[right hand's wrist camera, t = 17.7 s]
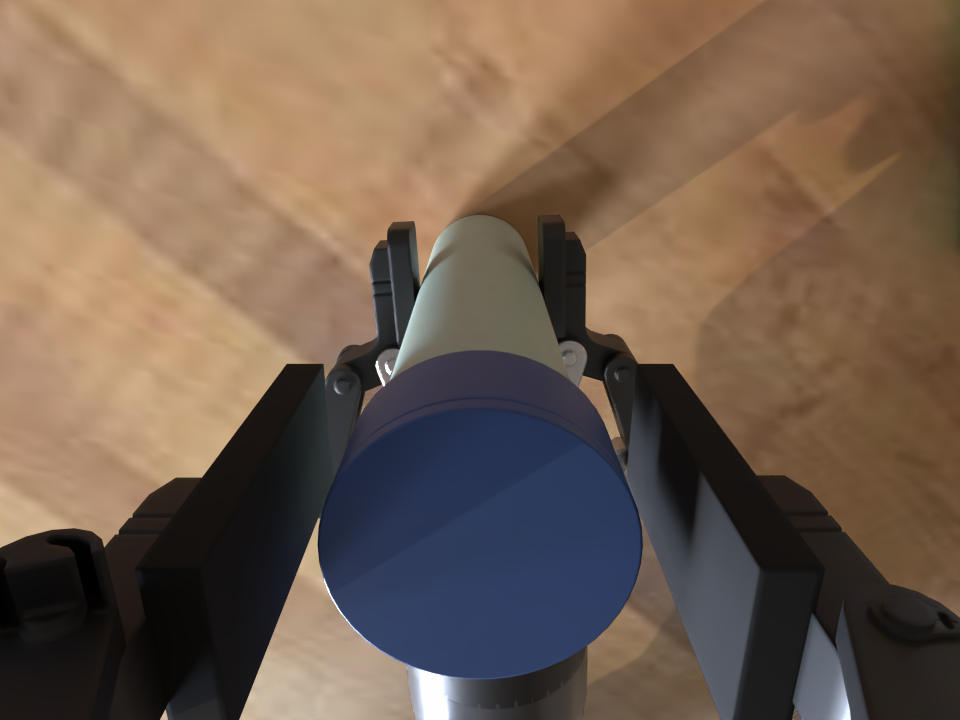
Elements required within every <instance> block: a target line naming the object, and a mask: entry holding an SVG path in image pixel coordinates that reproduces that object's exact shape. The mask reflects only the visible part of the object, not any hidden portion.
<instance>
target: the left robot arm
mask: <svg viewBox="0 0 960 720" xmlns="http://www.w3.org/2000/svg"><path fill="white" fill-rule="evenodd" d="M370 274H371V281H372V293H373V302H374V311H375V320H376V329H377V337H376V338H375V339H374V340H372V341H370V342H368V343H365V344H363V345H361V346H359V345H350V346H347V347H345V348H344V349H343V350H342V351H341V353H340V355H339V357H338V359H337V363H336V365H335V366H334V368H333V369H332V370H331V371H330V372H329V374H328V376H327V378H326V381H325V387H326V398H327V409H328V421H329V432H330V443H331V454H332V466H333V477H334V479H335V476H336V474H337V471H338V469H339V466H340V463H341V461H342V458H343V456H344V453H345V451H346V448H347V445H348V443H349V440H350V438H351V435H352V433H353V430H354V428H355V425H356V422H357V420H358V419H359V417H360V414H361V410H362V405H363V400H364V396H365V391H367V390H370V389H372V388H375V387H377V386H380V385H382V384H383V386H384V385H386V384H387V383H388V382H389V381H390V379H391V376H392V373H393V370H394V367H395V364H396V360H397V357H398V354H399V351H400V348H401V345H402V342H403V339H404V336H405V333H406V330H407V327H408V324H409V321H410V318H411V315H412V312H413V308H414V305H415V302H416V299H417V296H418V293H419V290H420V277H419V265H418V252H417V240H416V229H415V223H414V221H408V222H393V223H392V224H391V226H390V227H389V228H388V233H387V240H382V241H380V242H379V243H378V244H377V246H376V247H375V248H374V251H373V254H372V258H371V261H370ZM538 275H539V287H540V290H541V293H542V296H543V299H544V302H545V305H546V308H547V311H548V314H549V317H550V320H551V323H552V327H553V330H554V333H555V336H556V339H557V342H558V345H559V348H560V351H561V354H562V357H563V360H564V363H565V366H566V369H567V372H568V375H569V378H570V381H571V382H573V383H574V384H575V385H576V386H577V387H579V384H580V381H581V378H582V375H583V376H587V377H590V378H594V379H597V380H600V381H603V384H604V387H605V390H606V393H607V396H608V399H609V402H610V405H611V408H612V412H613V415H614V418H615V421H616V424H617V427H618V430H619V433H620V436H621V437H615V438H613V439H612V441H611V442H612V444H613V447H614V450H615V452H616V455H617V457H618V460H619V462H620V465H621V467H622V470H623V473H624V475H625V478H626V477H627V466H628V454H629V443H630V432H631V421H632V409H633V398H634V387H635V376H636V364H638V363H637V361H636V359H635V358H634V356H633V355H632V353H631V351H630V350H629V348H628V346H627V345H626V343H625V342H624V340H623V339H622V338H621V337H620V336H618V335H615V334H607V335H603V334H599V333H596V332H593V331H591V330H589V329H587V328H586V327H585V307H586V286H585V285H586V254H585V251H584V249H583V246H582V244H581V241H580V239H579V238H578V237H577V235H576V234H575V233H574V232H565V224H564V221H563V219H562V218H561V217H560V215H543V216H538ZM334 479H333V481H334ZM626 480H627V479H626ZM333 481H332V484H333ZM627 483H628V481H627ZM332 484H331V487H332ZM628 485H629V484H628ZM331 487H330V489H331ZM629 488H630V487H629ZM330 489H329V492H330ZM630 490H631V489H630ZM329 492H328V494H329ZM631 493H632V492H631ZM328 494H327V497H328ZM632 496H633V494H632ZM327 497H326V499H327ZM326 499H325V502H326ZM325 502H324V504H323V507H324V505H325ZM323 507H322V510H323ZM322 510H321V512H320V515H319V517H318V518H321V515H322ZM587 646H588V645H587ZM587 646H586V647H584V648H583V649H581V650H580V651H578V652H577V653H575V654H573V655H571V656H570V657H568V658H566V659H564V660H562V661H560V662H558V663H555V664H553V665H551V666H549V667H546V668H543V669H540V670H537V671H534V672H530V673H527V674H522V675H517V676H512V677H505V678H495V679H465V678H456V677H448V676H443V675H439V674H434V673H430V672H427V671H424V670H420V669H417V668H414V667H412V666H409V665H407V664H406V667H407V675H408V684H409V692H410V698H411V703H412V708H413V712H414V715H415V719H416V720H582V716H583V711H584V705H585V699H586V691H587Z"/></svg>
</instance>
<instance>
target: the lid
mask: <svg viewBox="0 0 960 720" xmlns="http://www.w3.org/2000/svg"><path fill="white" fill-rule="evenodd" d="M642 548H643V542H642V526H641V522H640V517H639V512H638V509H637V506H636V503H635V501H634V498H633V496H632V493H631V490H630V488H629V485H628V483H627V480H626V478H625V475H624V473H623V470H622V467H621V465H620V462H619V460H618V457H617V455H616V452H615V450H614V447H613V444H612V442H611V439H610V437H609V434H608V432H607V429H606V427H605V424H604V422H603V420H602V418H601V416H600V415H599V413H598V411H597V409H596V408H595V406H594V405H593V404H592V403H591V401H590V400H589V399H588V397H587V396H586V395H585V394H584V393H583V392H582V391H581V390H580V389H579V388H578V387H577V386H576V385H575V384H574V383H573V382H571V381H570V380H569V379H567V378H566V377H565V376H563V375H562V374H561V373H559V372H557V371H555V370H554V369H552V368H550V367H548V366H546V365H545V364H542V363H540V362H537V361H535V360H532V359H530V358H527V357H524V356H520V355H516V354H512V353H508V352H500V351H492V350H469V351H460V352H452V353H448V354H444V355H440V356H436V357H433V358H431V359H428V360H425V361H423V362H420V363H418V364H416V365H414V366H412V367H410V368H408V369H407V370H405V371H403V372H401V373H400V374H399V375H397V376H396V377H394V378H393V379H392V380H390V381H389V382H388V383H387V384H386V385H384V386H383V387H382V388H381V389H380V390H379V391H378V392H377V393H376V394H375V395H374V397H373V398H372V399H371V400H370V402H369V403H368V404H367V406H366V407H365V408H364V410H363V412H362V413H361V415H360V417H359V419H358V420H357V422H356V425H355V428H354V430H353V433H352V435H351V438H350V440H349V443H348V445H347V448H346V451H345V453H344V456H343V458H342V461H341V463H340V466H339V469H338V471H337V474H336V476H335V479H334V481H333V484H332V487H331V489H330V492H329V494H328V497H327V499H326V502H325V505H324V507H323V510H322V515H321V519H320V524H319V531H318V553H319V563H320V567H321V571H322V575H323V578H324V582H325V584H326V586H327V589H328V591H329V593H330V596H331V598H332V599H333V601H334V603H335V604H336V606H337V608H338V609H339V611H340V613H341V614H342V615H343V616H344V618H345V619H346V620H347V621H348V623H349V624H350V625H351V626H352V627H353V628H354V629H355V630H356V631H357V632H358V633H359V634H360V635H361V636H362V637H363V638H364V639H365V640H367V641H368V642H369V643H371V644H372V645H373V646H375V647H376V648H377V649H379V650H380V651H382V652H384V653H385V654H387V655H389V656H391V657H392V658H394V659H396V660H398V661H400V662H403V663H405V664H407V665H409V666H412V667H414V668H417V669H420V670H424V671H427V672H430V673H434V674H439V675H443V676H448V677H456V678H465V679H495V678H505V677H512V676H517V675H522V674H527V673H530V672H534V671H537V670H540V669H543V668H546V667H549V666H551V665H553V664H555V663H558V662H560V661H562V660H564V659H566V658H568V657H570V656H571V655H573V654H575V653H577V652H578V651H580V650H581V649H583V648H584V647H586V646H587V645H588V644H590V643H591V642H592V641H594V640H595V639H596V638H597V637H598V636H599V635H600V634H601V633H602V632H603V631H605V630H606V629H607V628H608V627H609V625H610V624H611V623H612V622H613V621H614V619H615V618H616V617H617V616H618V614H619V613H620V612H621V610H622V608H623V607H624V605H625V603H626V602H627V600H628V599H629V597H630V594H631V592H632V590H633V587H634V585H635V583H636V580H637V576H638V572H639V568H640V565H641V557H642Z"/></svg>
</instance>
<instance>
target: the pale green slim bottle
mask: <svg viewBox="0 0 960 720" xmlns="http://www.w3.org/2000/svg"><path fill="white" fill-rule="evenodd" d="M469 350H492V351H500V352H508V353H512V354H516V355H520V356H524V357H527V358H530V359H532V360H535V361H537V362H540V363H542V364H545V365H546V366H548V367H550V368H552V369H554V370H555V371H557V372H559V373H561V374H562V375H563V376H565V377H566V378H567V379H569V380H570V378H569V375H568V372H567V369H566V366H565V363H564V360H563V357H562V354H561V351H560V348H559V345H558V342H557V339H556V336H555V333H554V330H553V327H552V323H551V320H550V317H549V314H548V311H547V308H546V305H545V302H544V299H543V296H542V293H541V290H540V287H539V284H538V281H537V278H536V275H535V272H534V269H533V266H532V263H531V260H530V257H529V254H528V251H527V248H526V245H525V243H524V241H523V239H522V237H521V236H520V235H519V233H518V232H517V231H516V230H515V229H514V228H513V227H512V226H511V225H509V224H508V223H507V222H505V221H503V220H501V219H499V218H496V217H493V216H488V215H472V216H467V217H464V218H461V219H459V220H457V221H455V222H453V223H452V224H451V225H449V226H448V227H447V228H446V229H445V230H444V231H443V232H442V233H441V234H440V236H439V237H438V239H437V241H436V243H435V245H434V248H433V250H432V253H431V256H430V260H429V263H428V266H427V269H426V272H425V275H424V278H423V281H422V284H421V287H420V290H419V293H418V296H417V299H416V302H415V305H414V308H413V312H412V315H411V318H410V321H409V324H408V327H407V330H406V333H405V336H404V339H403V342H402V345H401V348H400V351H399V354H398V357H397V360H396V364H395V367H394V370H393V373H392V376H391V379H390V380H392V379H393V378H394V377H396V376H397V375H399V374H400V373H401V372H403V371H405V370H407V369H408V368H410V367H412V366H414V365H416V364H418V363H420V362H423V361H425V360H428V359H431V358H433V357H436V356H440V355H444V354H448V353H452V352H460V351H469Z"/></svg>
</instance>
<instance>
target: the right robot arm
mask: <svg viewBox="0 0 960 720" xmlns="http://www.w3.org/2000/svg"><path fill="white" fill-rule="evenodd" d="M333 479H334V477H333V466H332V454H331V443H330V432H329V421H328V409H327V398H326V387H325V376H324V365H323V364H287V365H286V366H285V367H284V369H283V370H282V371H281V373H280V374H279V375H278V377H277V378H276V379H275V381H274V382H273V383H272V385H271V386H270V387H269V389H268V390H267V391H266V393H265V394H264V395H263V397H262V398H261V399H260V401H259V402H258V403H257V405H256V406H255V407H254V409H253V410H252V411H251V413H250V414H249V415H248V417H247V418H246V419H245V421H244V422H243V424H242V425H241V426H240V428H239V429H238V430H237V432H236V433H235V434H234V436H233V437H232V438H231V440H230V441H229V442H228V444H227V445H226V446H225V448H224V449H223V450H222V452H221V453H220V454H219V456H218V457H217V458H216V460H215V461H214V462H213V464H212V465H211V466H210V468H209V469H208V470H207V472H206V473H205V474H204V476H203V477H202V478H175V479H173V480H172V481H170V482H168V483H167V484H165V485H164V486H162V487H160V488H159V489H157V490H156V491H154V492H153V493H151V494H149V496H148V497H147V498H146V499H145V500H144V501H143V503H142V504H141V505H140V506H139V507H138V509H137V510H136V511H135V512H134V513H133V518H129V519H128V520H127V521H126V523H125V524H124V525H123V526H122V527H121V529H120V530H119V534H118V535H115V536H114V537H113V538H112V539H111V540H110V541H109V543H108V544H107V545H106V546H105V547H104V545H103V541H102V539H101V538H100V537H98V536H97V535H96V534H94V533H93V532H92V531H86V530H81V529H75V528H72V529H59V530H50V531H46V532H42V533H38V534H34V535H30V536H26V537H24V538H22V539H20V540H17V541H15V542H13V543H10V544H8V545H6V546H3V547H1V548H0V720H160V718H161V717H162V715H163V713H164V711H165V709H166V712H167V717H168V720H239V719H240V716H241V714H242V711H243V708H244V706H245V703H246V701H247V698H248V696H249V693H250V691H251V688H252V686H253V683H254V680H255V678H256V675H257V673H258V670H259V668H260V665H261V663H262V660H263V657H264V655H265V652H266V650H267V647H268V645H269V642H270V640H271V637H272V635H273V632H274V629H275V627H276V624H277V622H278V619H279V617H280V614H281V612H282V609H283V606H284V604H285V601H286V599H287V596H288V594H289V591H290V589H291V586H292V583H293V581H294V578H295V576H296V573H297V571H298V568H299V566H300V563H301V561H302V558H303V555H304V553H305V550H306V548H307V545H308V543H309V540H310V538H311V535H312V532H313V530H314V527H315V525H316V522H317V520H318V517H319V515H320V512H321V510H322V507H323V504H324V502H325V499H326V497H327V494H328V492H329V489H330V487H331V484H332V481H333ZM626 479H627V481H628V484H629V487H630V489H631V492H632V494H633V497H634V499H635V502H636V504H637V507H638V510H639V512H640V515H641V517H642V520H643V522H644V525H645V527H646V530H647V532H648V535H649V538H650V540H651V543H652V545H653V548H654V550H655V553H656V555H657V558H658V561H659V563H660V566H661V568H662V571H663V573H664V576H665V578H666V581H667V584H668V586H669V589H670V591H671V594H672V596H673V599H674V601H675V604H676V606H677V609H678V612H679V614H680V617H681V619H682V622H683V624H684V627H685V629H686V632H687V635H688V637H689V640H690V642H691V645H692V647H693V650H694V652H695V655H696V657H697V660H698V663H699V665H700V668H701V670H702V673H703V675H704V678H705V680H706V683H707V686H708V688H709V691H710V693H711V696H712V698H713V701H714V703H715V706H716V709H717V711H718V714H719V716H720V719H721V720H792V717H793V712H794V708H795V707H796V709H797V711H798V713H799V715H800V717H801V719H802V720H960V618H959V617H958V616H957V615H955V614H954V613H953V612H952V611H950V610H949V609H948V608H946V607H945V606H944V605H942V604H941V603H939V602H937V601H935V600H933V599H931V598H929V597H927V596H925V595H923V594H921V593H919V592H917V591H913V590H910V589H906V588H903V587H899V586H896V585H890V584H889V583H888V582H887V581H886V579H885V578H884V577H883V576H882V575H881V573H880V572H879V571H878V570H877V569H876V568H875V566H874V565H873V564H872V563H871V562H870V561H869V559H868V558H867V557H866V556H865V555H864V554H863V552H862V551H861V550H860V549H859V548H858V547H857V545H856V544H855V543H854V542H853V541H852V540H851V538H850V537H849V536H848V535H847V534H846V533H845V532H842V528H841V527H840V526H839V524H838V523H837V522H836V521H835V520H834V519H833V517H832V516H828V512H827V510H826V509H825V508H824V507H823V506H822V504H821V503H820V502H819V501H818V500H817V499H816V497H815V496H814V495H813V494H812V493H811V492H810V491H808V490H807V489H805V488H803V487H802V486H800V485H799V484H797V483H795V482H794V481H792V480H791V479H789V478H787V477H786V476H756V474H755V473H754V472H753V470H752V469H751V468H750V466H749V465H748V464H747V462H746V461H745V460H744V458H743V457H742V456H741V454H740V453H739V452H738V450H737V449H736V448H735V446H734V445H733V444H732V442H731V441H730V440H729V438H728V437H727V436H726V434H725V433H724V432H723V430H722V429H721V428H720V426H719V425H718V424H717V422H716V421H715V420H714V418H713V417H712V415H711V414H710V413H709V411H708V410H707V409H706V407H705V406H704V405H703V403H702V402H701V401H700V399H699V398H698V397H697V395H696V394H695V393H694V391H693V390H692V389H691V387H690V386H689V385H688V383H687V382H686V381H685V379H684V378H683V377H682V375H681V374H680V373H679V371H678V370H677V369H676V367H675V366H674V365H673V364H636V376H635V387H634V398H633V409H632V421H631V432H630V443H629V454H628V466H627V477H626Z"/></svg>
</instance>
